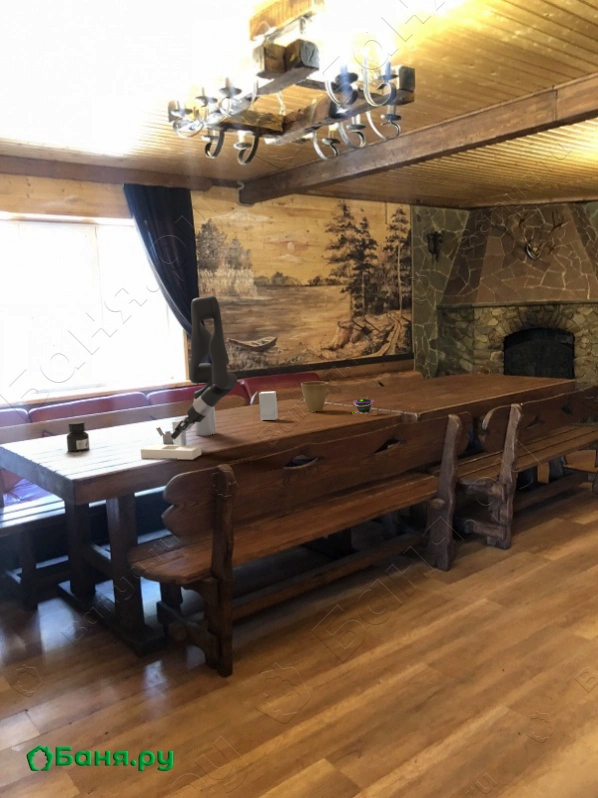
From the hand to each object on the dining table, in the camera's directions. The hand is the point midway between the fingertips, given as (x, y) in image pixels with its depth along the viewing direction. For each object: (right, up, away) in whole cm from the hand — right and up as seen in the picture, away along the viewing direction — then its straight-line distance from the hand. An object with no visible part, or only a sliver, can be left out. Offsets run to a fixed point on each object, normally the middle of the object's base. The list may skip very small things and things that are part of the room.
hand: (175, 436), depth 265 cm
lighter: (-7, -4, +13) cm, 15 cm away
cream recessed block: (+1, -7, -12) cm, 14 cm away
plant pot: (+61, +9, +87) cm, 107 cm away
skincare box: (+36, +5, +64) cm, 74 cm away
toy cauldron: (+87, +7, +74) cm, 115 cm away
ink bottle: (-42, -6, +5) cm, 43 cm away
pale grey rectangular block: (+2, -5, 0) cm, 6 cm away
